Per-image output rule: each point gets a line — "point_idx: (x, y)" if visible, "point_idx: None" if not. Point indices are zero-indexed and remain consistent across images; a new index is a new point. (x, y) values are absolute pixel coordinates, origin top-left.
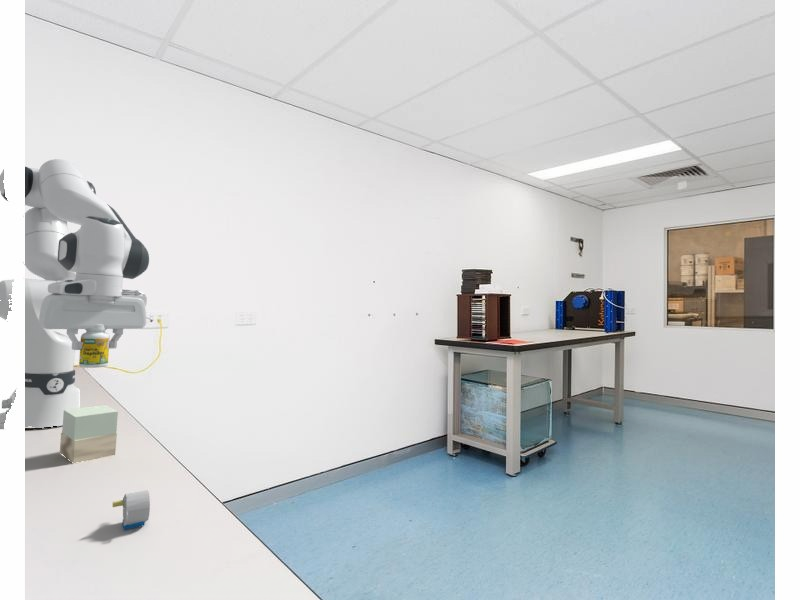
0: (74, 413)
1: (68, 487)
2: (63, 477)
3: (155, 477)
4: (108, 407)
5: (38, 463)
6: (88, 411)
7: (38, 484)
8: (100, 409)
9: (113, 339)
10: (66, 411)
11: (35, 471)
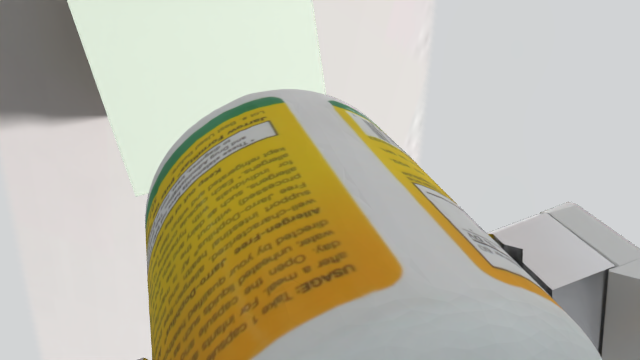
0: (128, 110)
1: (128, 317)
2: (110, 238)
3: None
4: (309, 25)
5: (4, 47)
6: (200, 88)
7: (43, 268)
8: (263, 62)
9: (625, 340)
10: (80, 36)
11: (10, 143)
